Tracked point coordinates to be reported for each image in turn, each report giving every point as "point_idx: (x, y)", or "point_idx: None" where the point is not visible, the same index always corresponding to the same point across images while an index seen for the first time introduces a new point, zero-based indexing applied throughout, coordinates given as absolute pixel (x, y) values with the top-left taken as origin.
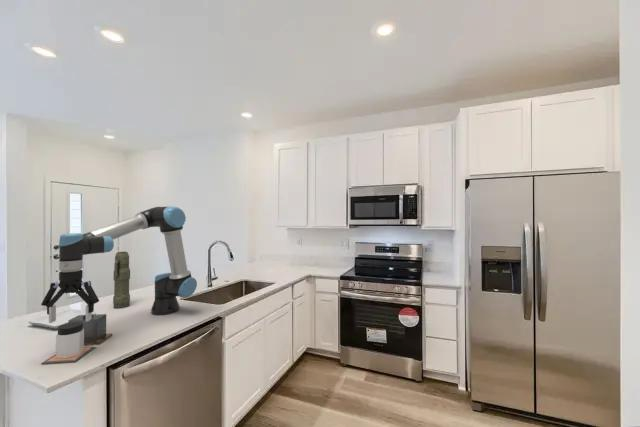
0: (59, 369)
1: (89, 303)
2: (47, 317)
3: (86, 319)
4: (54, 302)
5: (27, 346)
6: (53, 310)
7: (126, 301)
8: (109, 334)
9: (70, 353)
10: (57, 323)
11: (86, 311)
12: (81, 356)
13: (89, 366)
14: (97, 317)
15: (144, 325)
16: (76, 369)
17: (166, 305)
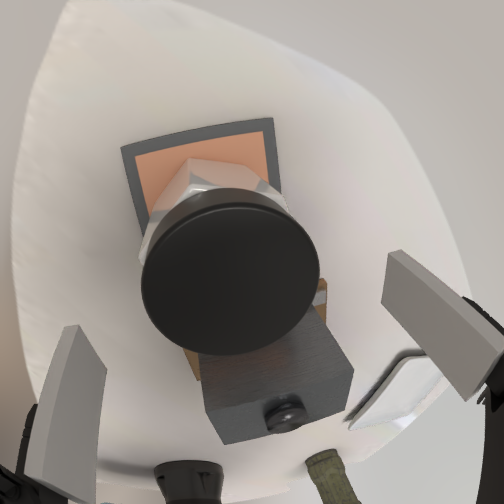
0: (142, 80)
1: (11, 497)
2: (436, 378)
3: (67, 340)
4: (497, 415)
5: (420, 263)
6: (452, 347)
7: (311, 470)
8: (199, 373)
9: (174, 178)
10: (411, 374)
11: (45, 411)
12: (131, 192)
13: (36, 129)
14: (229, 422)
15: (158, 426)
16: (67, 95)
17: (169, 484)
